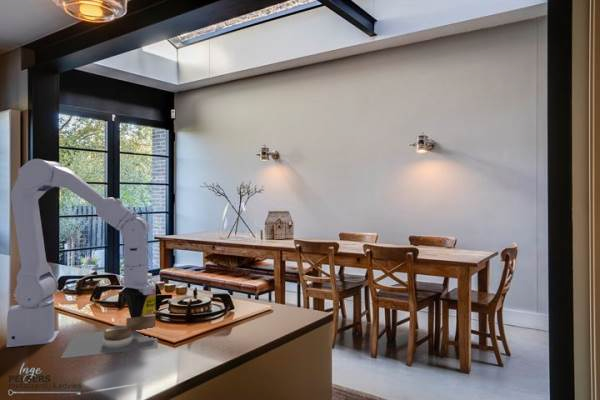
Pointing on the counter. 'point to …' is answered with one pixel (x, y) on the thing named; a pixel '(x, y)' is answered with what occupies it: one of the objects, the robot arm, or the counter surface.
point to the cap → (129, 327)
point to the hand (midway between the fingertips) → (135, 317)
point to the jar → (117, 343)
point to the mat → (94, 346)
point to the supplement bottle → (150, 300)
